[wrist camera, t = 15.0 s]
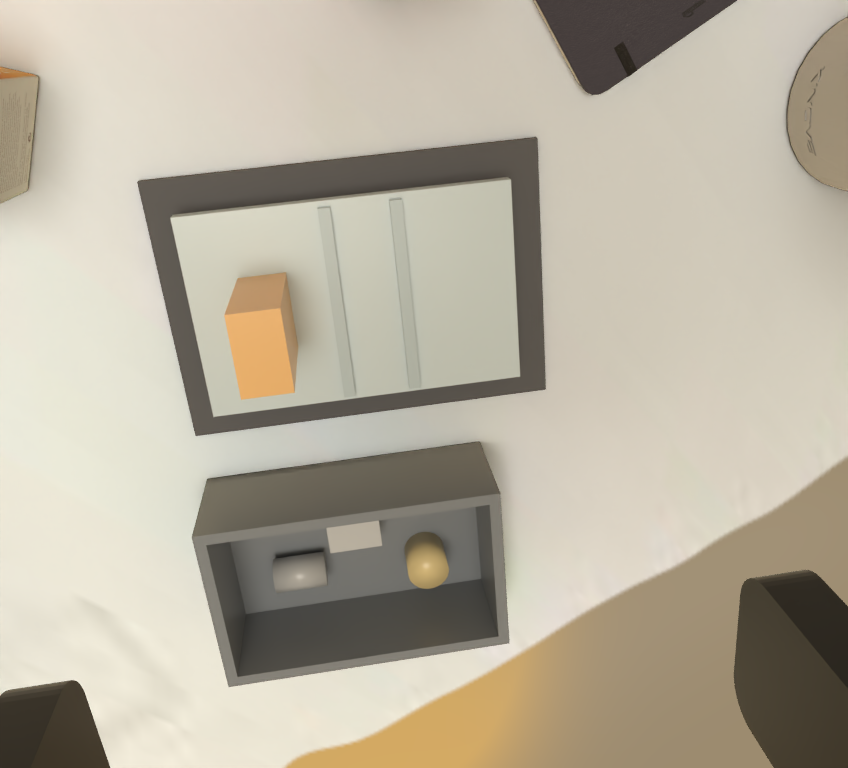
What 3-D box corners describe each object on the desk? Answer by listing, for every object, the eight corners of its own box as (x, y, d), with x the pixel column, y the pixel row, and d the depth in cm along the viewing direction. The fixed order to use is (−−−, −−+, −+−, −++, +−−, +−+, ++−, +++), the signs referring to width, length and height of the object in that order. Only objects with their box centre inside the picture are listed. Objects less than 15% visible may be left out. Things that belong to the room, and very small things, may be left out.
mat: (535, 137, 41) (537, 138, 40) (543, 386, 46) (545, 389, 46) (138, 180, 39) (137, 181, 39) (196, 432, 45) (195, 435, 45)
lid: (503, 174, 41) (541, 200, 34) (512, 364, 45) (548, 424, 38) (176, 210, 40) (144, 246, 33) (217, 403, 44) (197, 471, 37)
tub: (479, 441, 47) (500, 493, 42) (489, 579, 51) (509, 643, 46) (207, 478, 46) (191, 537, 41) (238, 616, 50) (228, 687, 45)
